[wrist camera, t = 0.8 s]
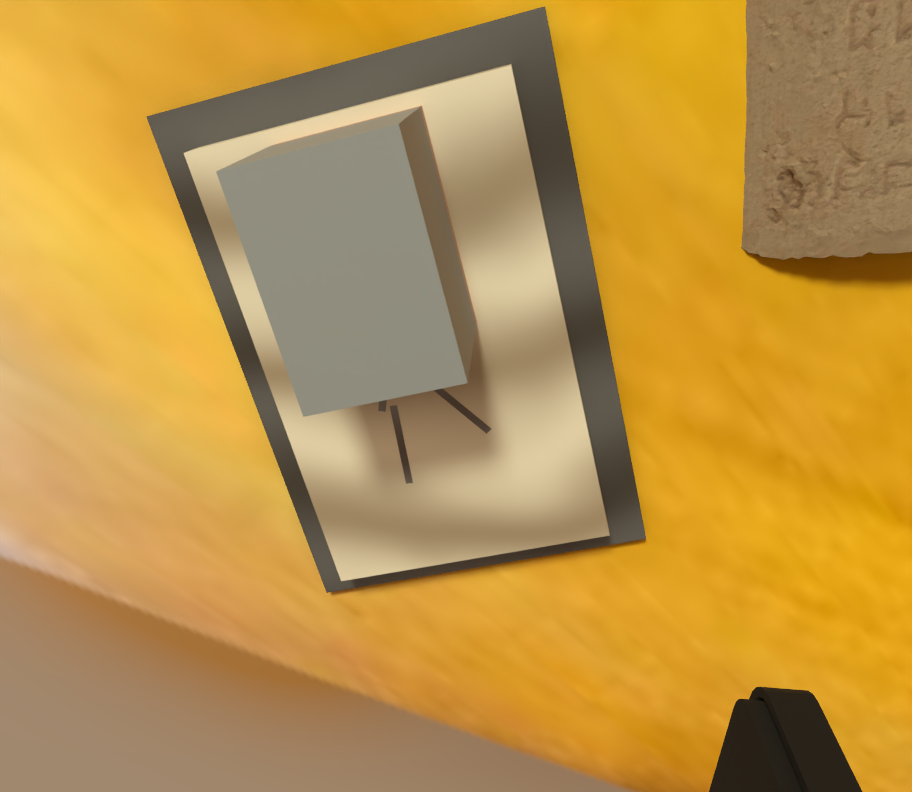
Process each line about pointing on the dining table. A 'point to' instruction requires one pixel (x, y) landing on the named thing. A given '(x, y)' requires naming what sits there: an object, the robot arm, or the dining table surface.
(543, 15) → the board
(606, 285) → the dining table surface
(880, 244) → the clay tablet
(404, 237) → the block
